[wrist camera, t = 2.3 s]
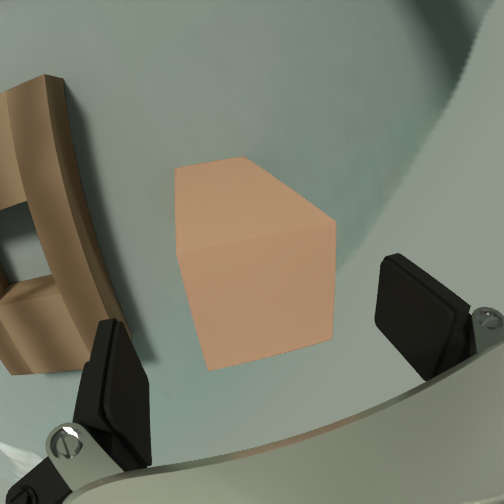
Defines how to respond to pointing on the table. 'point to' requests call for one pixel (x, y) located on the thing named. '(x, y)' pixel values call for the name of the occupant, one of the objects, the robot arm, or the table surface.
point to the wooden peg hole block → (49, 238)
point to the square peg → (252, 262)
